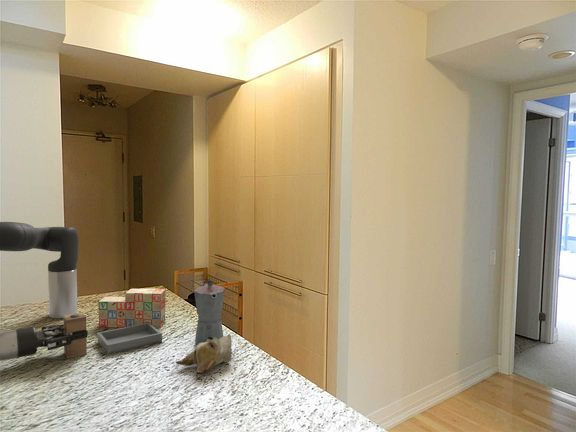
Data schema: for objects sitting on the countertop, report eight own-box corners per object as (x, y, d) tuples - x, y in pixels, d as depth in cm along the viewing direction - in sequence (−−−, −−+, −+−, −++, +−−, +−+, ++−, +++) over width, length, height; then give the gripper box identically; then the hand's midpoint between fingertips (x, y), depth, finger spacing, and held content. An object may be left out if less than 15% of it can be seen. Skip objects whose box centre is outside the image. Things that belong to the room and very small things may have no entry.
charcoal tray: (97, 342, 121) (97, 332, 121) (148, 331, 131) (148, 322, 131) (107, 355, 112) (107, 345, 112) (162, 342, 122) (162, 333, 122)
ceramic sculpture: (242, 333, 107) (195, 352, 97) (243, 363, 108) (197, 385, 97) (218, 324, 115) (173, 341, 104) (220, 352, 116) (175, 372, 105)
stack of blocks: (98, 327, 134) (97, 292, 133) (105, 321, 140) (105, 288, 140) (161, 327, 135) (161, 293, 134) (165, 321, 141) (165, 288, 141)
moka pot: (199, 353, 114) (200, 287, 113) (187, 335, 128) (187, 276, 127) (230, 348, 119) (231, 283, 117) (215, 331, 132) (216, 273, 131)
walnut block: (64, 352, 114) (63, 315, 113) (83, 348, 117) (82, 311, 116) (67, 358, 110) (66, 319, 109) (86, 354, 113) (86, 316, 112)
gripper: (16, 338, 98) (90, 324, 109) (12, 322, 109) (80, 311, 120) (17, 367, 99) (91, 350, 109) (13, 348, 110) (80, 335, 120)
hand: (84, 330), depth 114 cm, fingers closed on walnut block, 5 cm apart
